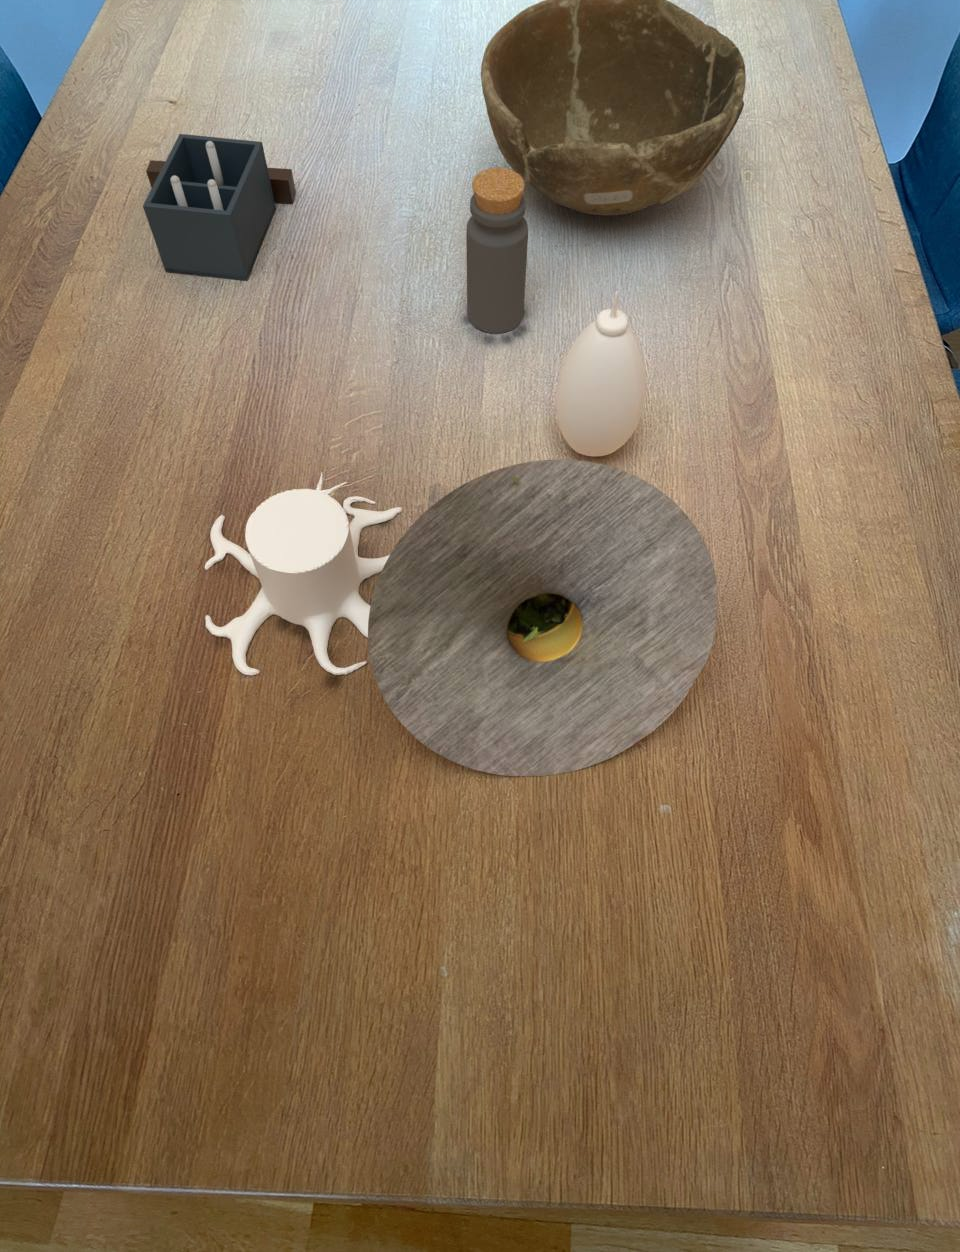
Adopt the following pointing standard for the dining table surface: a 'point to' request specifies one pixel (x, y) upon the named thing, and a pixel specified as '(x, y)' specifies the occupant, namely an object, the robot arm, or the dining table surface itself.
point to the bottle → (496, 251)
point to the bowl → (611, 100)
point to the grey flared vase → (542, 618)
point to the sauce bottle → (601, 386)
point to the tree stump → (302, 568)
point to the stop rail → (278, 177)
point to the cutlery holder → (211, 206)
